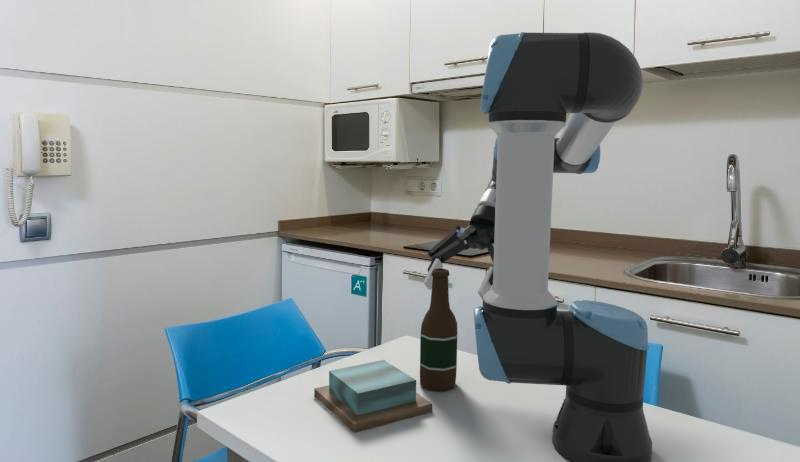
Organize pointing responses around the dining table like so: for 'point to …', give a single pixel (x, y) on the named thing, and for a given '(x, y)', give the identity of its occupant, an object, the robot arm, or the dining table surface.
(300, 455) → the dining table surface
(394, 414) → the display base
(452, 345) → the beer bottle
